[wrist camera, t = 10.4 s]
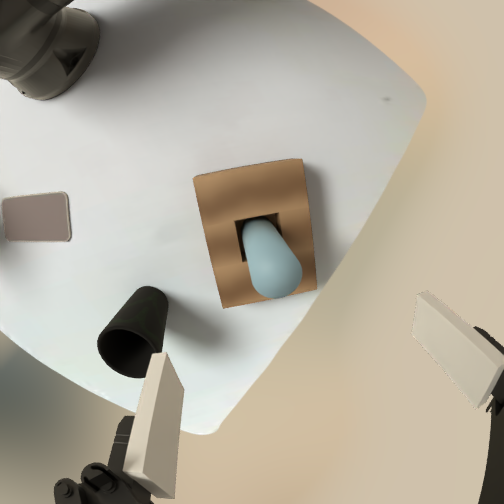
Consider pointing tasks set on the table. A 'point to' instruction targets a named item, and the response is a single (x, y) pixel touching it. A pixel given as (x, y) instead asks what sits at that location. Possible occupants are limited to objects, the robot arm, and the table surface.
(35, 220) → the smartphone
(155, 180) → the table surface
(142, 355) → the cup
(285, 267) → the pin
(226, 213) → the bore block
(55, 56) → the robot arm
